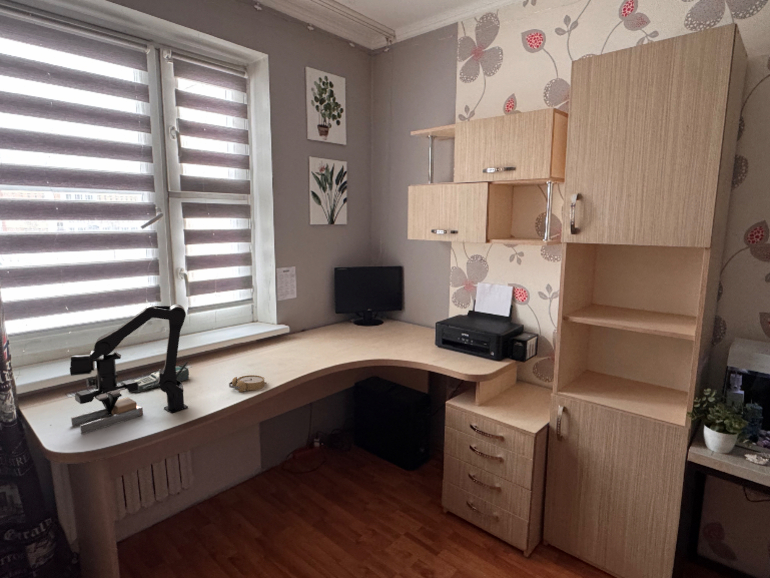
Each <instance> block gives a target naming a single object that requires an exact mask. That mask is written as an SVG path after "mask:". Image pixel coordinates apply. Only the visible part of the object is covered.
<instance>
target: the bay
mask: <svg viewBox="0 0 770 578" xmlns="http://www.w3.org/2000/svg"><path fill="white" fill-rule="evenodd" d="M136 407H137V408H135V409H132V410H128V411H125V412H122V413H118V414H115V415H112V413H111V414H110V415H109V414H108V413H107V411H106V409H105V407H103V408H99V409H96V410H93V411H89V412H85V413H82V414H78V415H75V416H72V417H70V420H71V427H75V426H76V427H77V426H79V427H80V434H81V435H85V434H88V433H90V432H91V433H92V432H93V431H97V430H101V429H104V428H107V427H110V426H113V425H117V424H120V423H123V422H126V421H129V420H132V419H135V418H138V417H141V416H143V415H144V411H143V410H144V409H143V406H139V405H138V404H137V405H136Z"/></svg>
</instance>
